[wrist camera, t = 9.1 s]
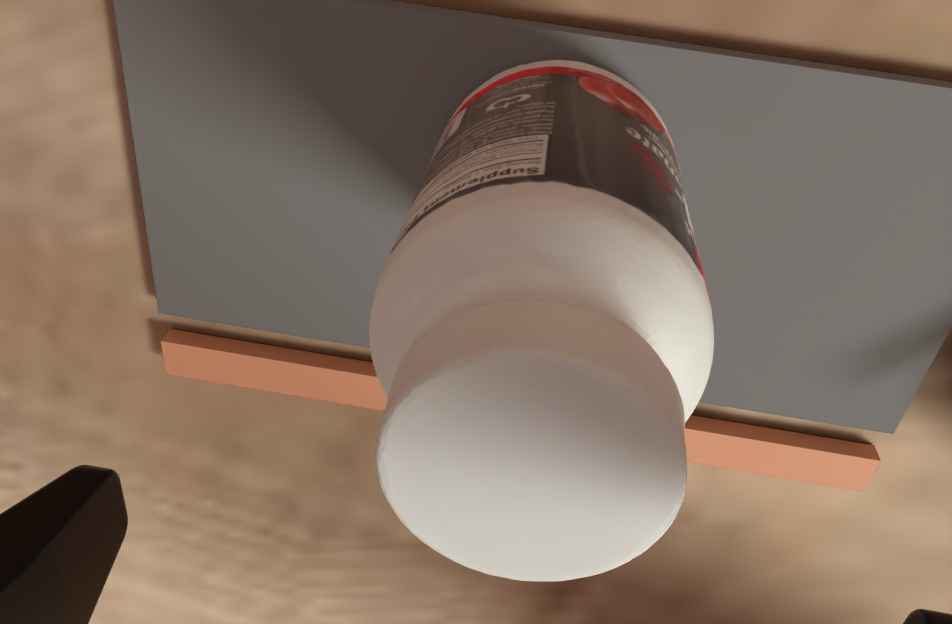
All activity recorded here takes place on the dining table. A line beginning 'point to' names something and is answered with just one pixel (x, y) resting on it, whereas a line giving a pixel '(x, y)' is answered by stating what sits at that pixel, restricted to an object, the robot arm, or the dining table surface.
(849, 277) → the mat
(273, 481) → the dining table surface
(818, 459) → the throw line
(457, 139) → the pill bottle
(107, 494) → the robot arm
